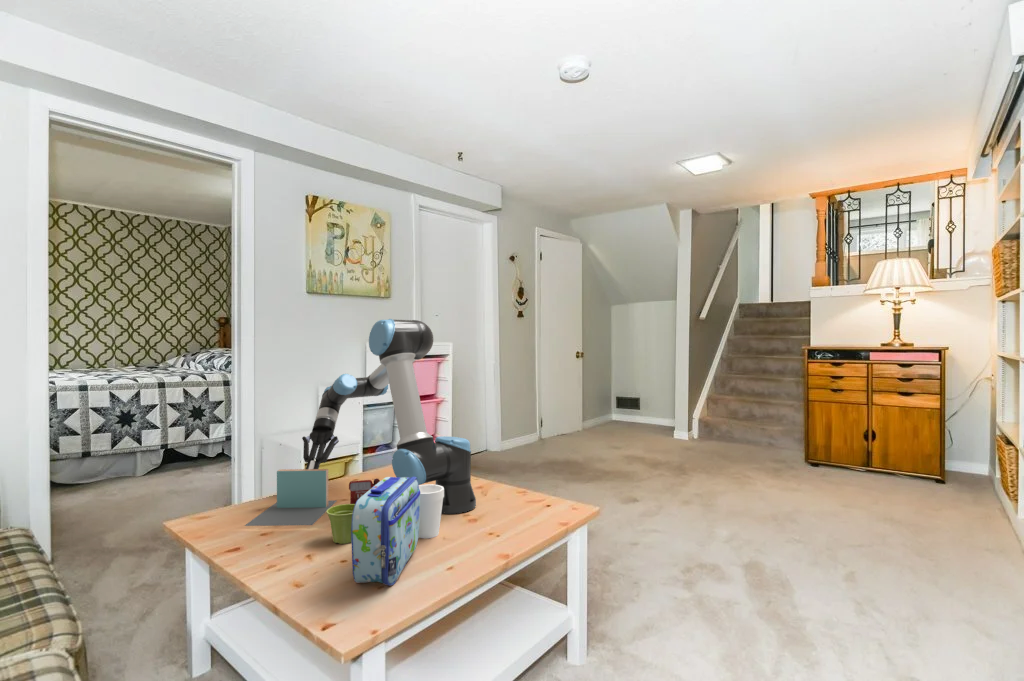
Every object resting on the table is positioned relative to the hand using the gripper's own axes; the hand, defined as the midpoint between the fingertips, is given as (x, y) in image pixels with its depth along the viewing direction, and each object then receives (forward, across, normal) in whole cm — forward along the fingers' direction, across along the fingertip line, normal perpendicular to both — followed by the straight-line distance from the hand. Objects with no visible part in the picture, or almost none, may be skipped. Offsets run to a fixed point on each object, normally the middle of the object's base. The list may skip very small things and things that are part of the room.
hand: (309, 479), depth 180 cm
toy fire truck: (+13, -23, +1) cm, 26 cm away
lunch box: (+43, -38, +31) cm, 65 cm away
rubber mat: (+14, 0, +3) cm, 14 cm away
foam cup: (+27, -45, +16) cm, 55 cm away
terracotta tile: (+10, 0, -1) cm, 10 cm away
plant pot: (+30, -22, +18) cm, 42 cm away
